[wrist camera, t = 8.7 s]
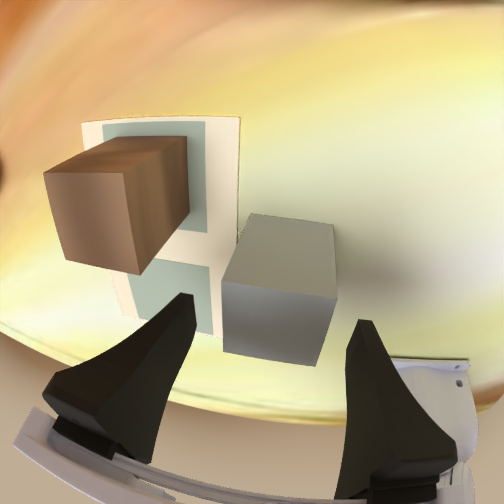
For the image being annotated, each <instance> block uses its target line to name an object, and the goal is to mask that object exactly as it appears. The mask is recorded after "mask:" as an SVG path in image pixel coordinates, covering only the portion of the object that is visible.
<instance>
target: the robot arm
mask: <svg viewBox="0 0 504 504" xmlns="http://www.w3.org/2000/svg"><path fill="white" fill-rule="evenodd" d="M196 328H197V321H196V313H195V304H194V295H193V294H187V293H182V292H180V293H179V294H178V295H177V296H176V297H174V298H173V299H172V300H171V301H170V302H169V303H168V304H167V305H166V306H165V307H164V308H163V309H162V310H160V311H159V312H158V313H157V314H156V315H155V316H154V317H152V318H151V319H150V320H149V321H148V322H147V323H145V324H144V325H143V326H142V327H140V328H139V329H138V330H137V331H135V332H134V333H133V334H132V335H130V336H129V337H127V338H126V339H125V340H123V341H122V342H120V343H119V344H117V345H115V346H114V347H112V348H110V349H109V350H107V351H105V352H103V353H102V354H100V355H98V356H96V357H94V358H92V359H90V360H88V361H86V362H83V363H81V364H79V365H76V366H73V367H71V368H68V369H65V370H62V371H59V372H56V373H55V374H54V376H53V377H52V379H51V380H50V382H49V383H48V385H47V387H46V388H45V390H44V391H43V393H42V396H43V398H44V400H45V401H46V402H47V403H48V404H49V405H50V407H51V408H52V409H53V410H54V411H55V412H56V413H57V414H58V415H59V416H58V418H57V420H56V419H54V418H53V417H52V416H50V415H49V414H47V413H45V412H44V411H42V410H41V409H39V408H37V407H36V406H35V407H33V408H32V411H31V412H30V414H29V416H28V417H27V419H26V421H25V422H24V424H23V426H22V428H21V429H20V432H19V433H18V435H17V437H16V439H15V441H14V442H13V446H14V447H15V448H17V449H18V450H19V451H20V452H22V453H23V454H24V455H26V456H27V457H28V458H30V459H31V460H32V461H34V462H35V463H37V464H38V465H39V466H41V467H42V468H44V469H45V470H47V471H48V472H50V473H51V474H53V475H54V476H56V477H57V478H59V479H60V480H62V481H63V482H65V483H67V484H68V485H70V486H71V487H73V488H75V489H77V490H78V491H80V492H82V493H84V494H85V495H87V496H89V497H91V498H93V499H94V500H96V501H98V502H100V503H102V504H183V503H179V502H175V500H176V499H175V497H173V496H170V495H169V494H167V493H166V492H165V491H164V490H163V489H160V488H158V487H155V486H153V485H151V484H148V483H146V482H144V481H141V480H140V479H142V480H145V481H147V482H150V483H153V484H156V485H159V486H162V487H165V488H168V489H171V490H174V491H177V492H181V493H184V494H187V495H191V496H195V497H198V498H202V499H206V500H210V501H214V502H219V503H224V504H475V492H474V482H473V476H472V471H471V468H470V467H469V466H467V465H465V464H464V463H465V462H466V461H467V460H468V459H469V458H470V457H471V455H472V454H473V452H474V450H475V448H476V444H477V440H478V434H479V424H478V419H477V413H476V409H475V404H474V400H473V396H472V391H471V388H470V384H469V380H468V376H467V373H466V370H467V369H468V368H469V367H470V362H469V361H467V360H421V359H401V358H390V356H389V355H388V353H387V351H386V349H385V347H384V345H383V343H382V340H381V338H380V336H379V334H378V332H377V330H376V328H375V326H374V323H373V322H372V321H371V320H361V319H358V322H357V324H356V327H355V329H354V332H353V334H352V337H351V339H350V342H349V344H348V346H347V349H346V363H345V377H346V398H347V425H346V436H345V444H344V451H343V458H342V463H341V469H340V475H339V479H338V484H337V488H336V492H335V496H334V500H326V499H306V498H293V497H283V496H274V495H266V494H259V493H253V492H247V491H241V490H236V489H231V488H226V487H221V486H217V485H213V484H208V483H204V482H201V481H197V480H193V479H189V478H185V477H182V476H179V475H175V474H172V473H169V472H166V471H163V470H160V469H157V468H154V467H151V466H148V465H147V464H149V463H151V460H152V455H153V451H154V446H155V442H156V437H157V434H158V430H159V426H160V422H161V419H162V415H163V412H164V409H165V406H166V402H167V399H168V396H169V393H170V391H171V388H172V386H173V383H174V381H175V379H176V377H177V375H178V372H179V370H180V368H181V366H182V364H183V362H184V360H185V357H186V355H187V353H188V351H189V349H190V347H191V344H192V341H193V338H194V335H195V331H196Z"/></svg>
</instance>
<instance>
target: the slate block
mask: <svg viewBox="0 0 504 504" xmlns="http://www.w3.org/2000/svg"><path fill="white" fill-rule="evenodd" d="M221 300H222V329H223V352H227V353H233V354H238V355H243V356H249V357H254V358H260V359H266V360H272V361H278V362H285V363H292V364H299V365H306V366H314V367H315V366H316V363H317V360H318V357H319V354H320V352H321V349H322V346H323V343H324V340H325V337H326V334H327V330H328V327H329V324H330V321H331V318H332V315H333V311H334V308H335V305H336V302H337V278H336V260H335V245H334V232H333V225H332V224H325V223H319V222H312V221H305V220H298V219H290V218H283V217H275V216H268V215H260V214H252V213H251V214H250V217H249V219H248V221H247V223H246V226H245V228H244V230H243V232H242V235H241V237H240V239H239V241H238V243H237V246H236V248H235V250H234V252H233V255H232V257H231V259H230V262H229V264H228V266H227V268H226V271H225V273H224V275H223V277H222V280H221Z"/></svg>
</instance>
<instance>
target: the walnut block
mask: <svg viewBox="0 0 504 504" xmlns="http://www.w3.org/2000/svg"><path fill="white" fill-rule="evenodd" d="M43 175H44V180H45V185H46V190H47V194H48V198H49V203H50V207H51V211H52V215H53V218H54V222H55V226H56V229H57V233H58V236H59V240H60V243H61V246H62V249H63V252H64V256H65V259H66V260H70V261H74V262H78V263H83V264H87V265H92V266H96V267H101V268H105V269H110V270H115V271H119V272H124V273H129V274H134V275H139V276H141V274H142V273H143V272H144V270H145V269H146V268H147V266H148V265H149V264H150V263H151V261H152V260H153V259H154V257H155V256H156V255H157V253H158V252H159V251H160V250H161V248H162V247H163V246H164V244H165V243H166V242H167V241H168V239H169V238H170V237H171V236H172V234H173V233H174V232H175V231H176V229H177V228H178V227H179V226H180V224H181V223H182V222H183V221H184V220H185V218H186V217H187V216H188V215H189V213H190V204H189V185H188V160H187V136H121V137H115V138H112V139H110V140H108V141H106V142H103V143H101V144H99V145H97V146H95V147H92V148H90V149H88V150H86V151H84V152H82V153H80V154H78V155H76V156H74V157H72V158H70V159H68V160H66V161H64V162H62V163H60V164H59V165H57V166H55V167H53V168H51V169H49V170H48V171H46V172H44V173H43Z"/></svg>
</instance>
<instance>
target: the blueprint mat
mask: <svg viewBox="0 0 504 504" xmlns="http://www.w3.org/2000/svg"><path fill="white" fill-rule="evenodd" d="M81 124H82V134H83V143H84V151H86V150H88V149H90V148H92V147H95V146H97V145H99V144H101V143H103V142H106V141H108V140H110V139H112V138H115V137H121V136H187V160H188V185H189V204H190V213H189V215H188V216H187V217H186V218H185V220H184V221H183V222H182V223H181V224H180V226H179V227H178V228H177V229H176V231H175V232H174V233H173V234H172V236H171V237H170V238H169V239H168V241H167V242H166V243H165V244H164V246H163V247H162V248H161V250H160V251H159V252H158V253H157V255H156V256H155V257H154V259H153V260H152V261H151V263H150V264H149V265H148V266H147V268H146V269H145V270H144V272H143V273H142V274H141V276H139V275H134V274H129V273H124V272H119V271H115V270H110V269H109V272H110V276H111V279H112V283H113V286H114V289H115V293H116V296H117V299H118V302H119V305H120V308H121V311H122V314H123V315H124V316H128V317H132V318H135V319H139V320H143V321H147V322H148V321H149V320H150V319H151V318H152V317H154V316H155V315H156V314H157V313H158V312H159V311H160V310H162V309H163V308H164V307H165V306H166V305H167V304H168V303H169V302H170V301H171V300H172V299H173V298H174V297H176V296H177V295H178V294H179V293H180V292H182V293H187V294H193V295H194V304H195V313H196V321H197V328H196V331H195V333H198V334H203V335H208V336H213V337H218V338H223V329H222V300H221V280H222V277H223V275H224V273H225V271H226V268H227V266H228V264H229V262H230V259H231V257H232V255H233V252H234V250H235V248H236V246H237V205H238V163H239V129H240V117H220V116H161V117H138V118H123V119H111V120H101V121H91V122H83V123H81Z"/></svg>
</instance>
